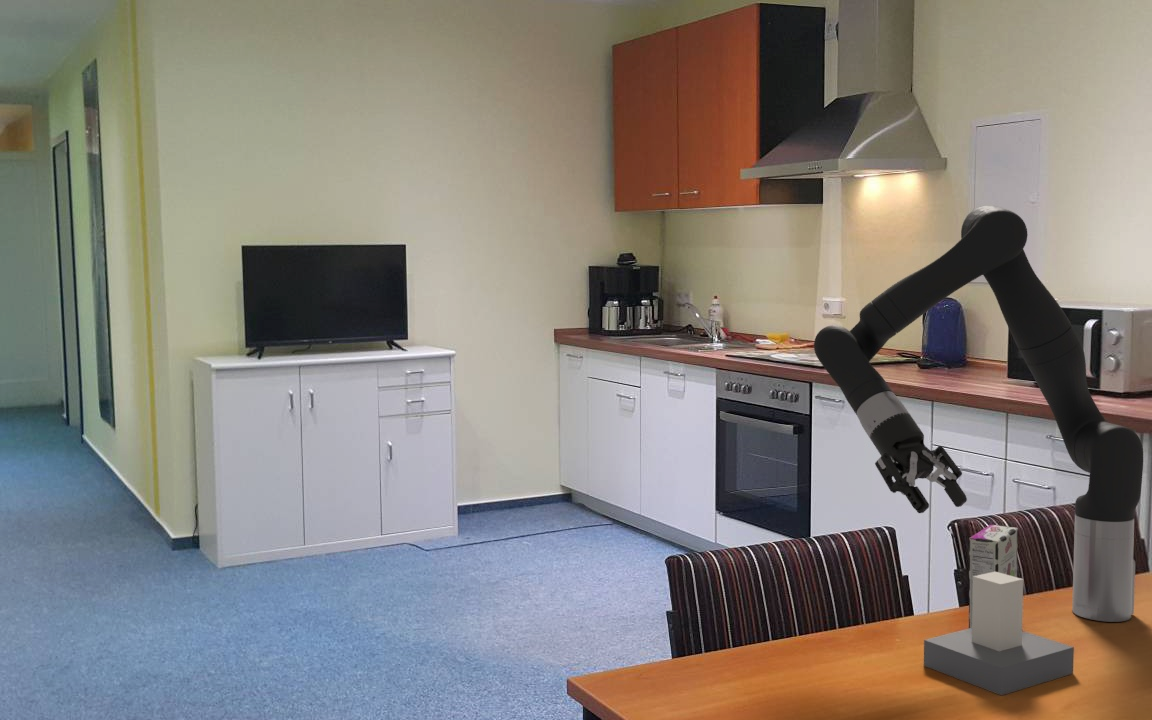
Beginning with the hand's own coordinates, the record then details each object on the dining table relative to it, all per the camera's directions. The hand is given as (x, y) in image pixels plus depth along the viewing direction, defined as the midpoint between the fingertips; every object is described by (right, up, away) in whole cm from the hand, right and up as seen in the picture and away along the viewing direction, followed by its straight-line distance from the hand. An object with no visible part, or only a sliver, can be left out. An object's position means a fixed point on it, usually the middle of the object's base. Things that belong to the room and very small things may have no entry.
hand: (943, 507), depth 175 cm
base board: (+6, -23, -7) cm, 25 cm away
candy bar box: (+12, -22, +12) cm, 27 cm away
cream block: (+5, -19, -8) cm, 21 cm away
